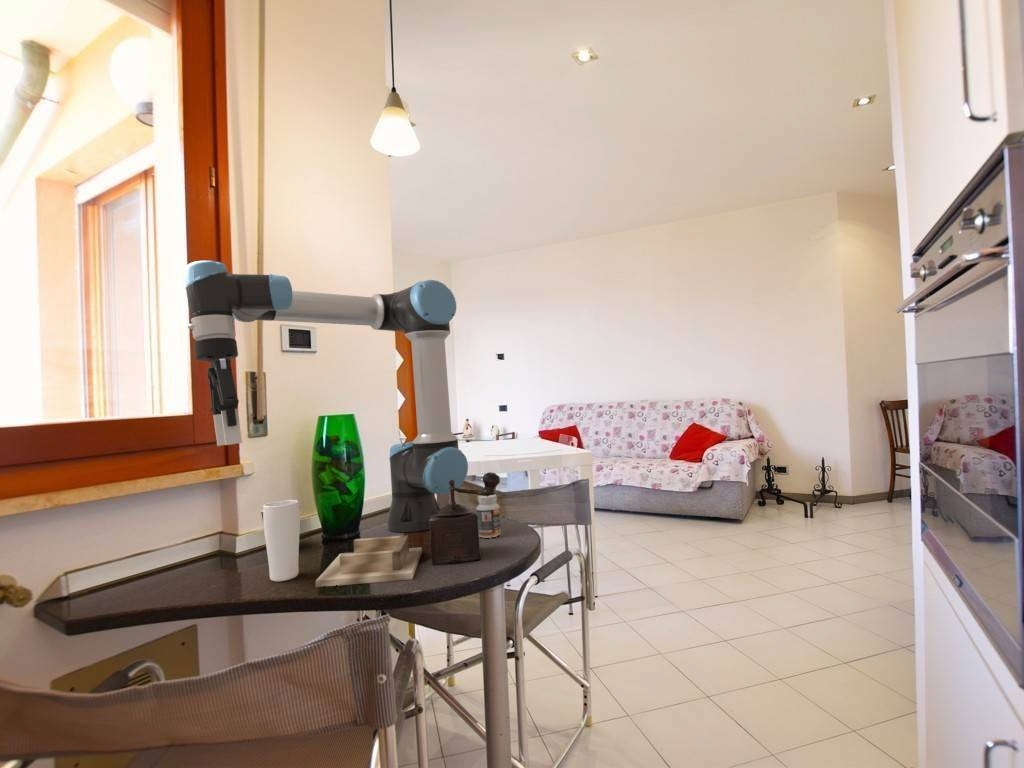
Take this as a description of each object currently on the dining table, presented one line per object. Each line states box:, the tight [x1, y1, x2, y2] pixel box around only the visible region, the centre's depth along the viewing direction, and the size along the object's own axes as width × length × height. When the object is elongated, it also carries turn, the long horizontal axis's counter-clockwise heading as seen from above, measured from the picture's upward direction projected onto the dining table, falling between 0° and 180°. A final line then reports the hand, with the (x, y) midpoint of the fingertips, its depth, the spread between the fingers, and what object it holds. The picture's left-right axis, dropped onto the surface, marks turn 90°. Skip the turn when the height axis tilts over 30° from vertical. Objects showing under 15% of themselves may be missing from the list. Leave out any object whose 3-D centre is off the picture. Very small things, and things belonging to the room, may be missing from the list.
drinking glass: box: [262, 499, 301, 582], centre depth 106 cm, size 7×7×15 cm
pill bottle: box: [475, 494, 502, 538], centre depth 130 cm, size 6×6×10 cm
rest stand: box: [315, 534, 423, 588], centre depth 109 cm, size 18×18×5 cm
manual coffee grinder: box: [429, 471, 501, 566], centre depth 115 cm, size 16×11×18 cm
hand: (229, 444), depth 105 cm, fingers open, 13 cm apart
